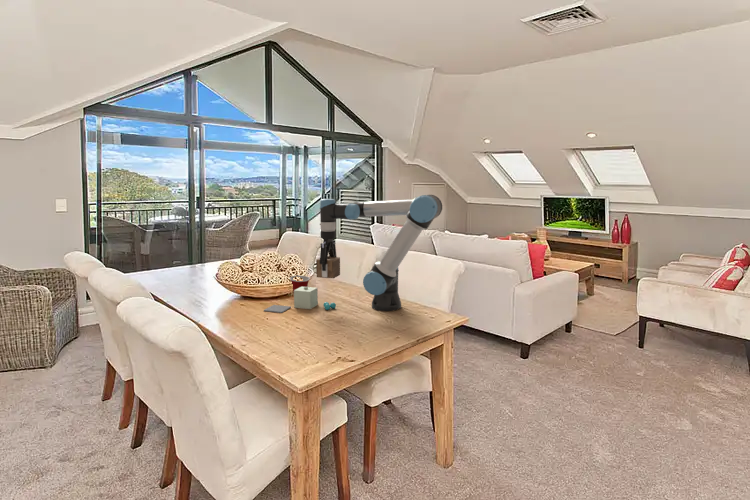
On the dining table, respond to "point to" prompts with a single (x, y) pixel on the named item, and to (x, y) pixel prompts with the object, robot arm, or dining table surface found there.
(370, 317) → the dining table surface
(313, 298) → the sage cover
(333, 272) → the walnut cover
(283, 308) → the grey square plate
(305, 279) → the plastic cup
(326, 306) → the marbles
